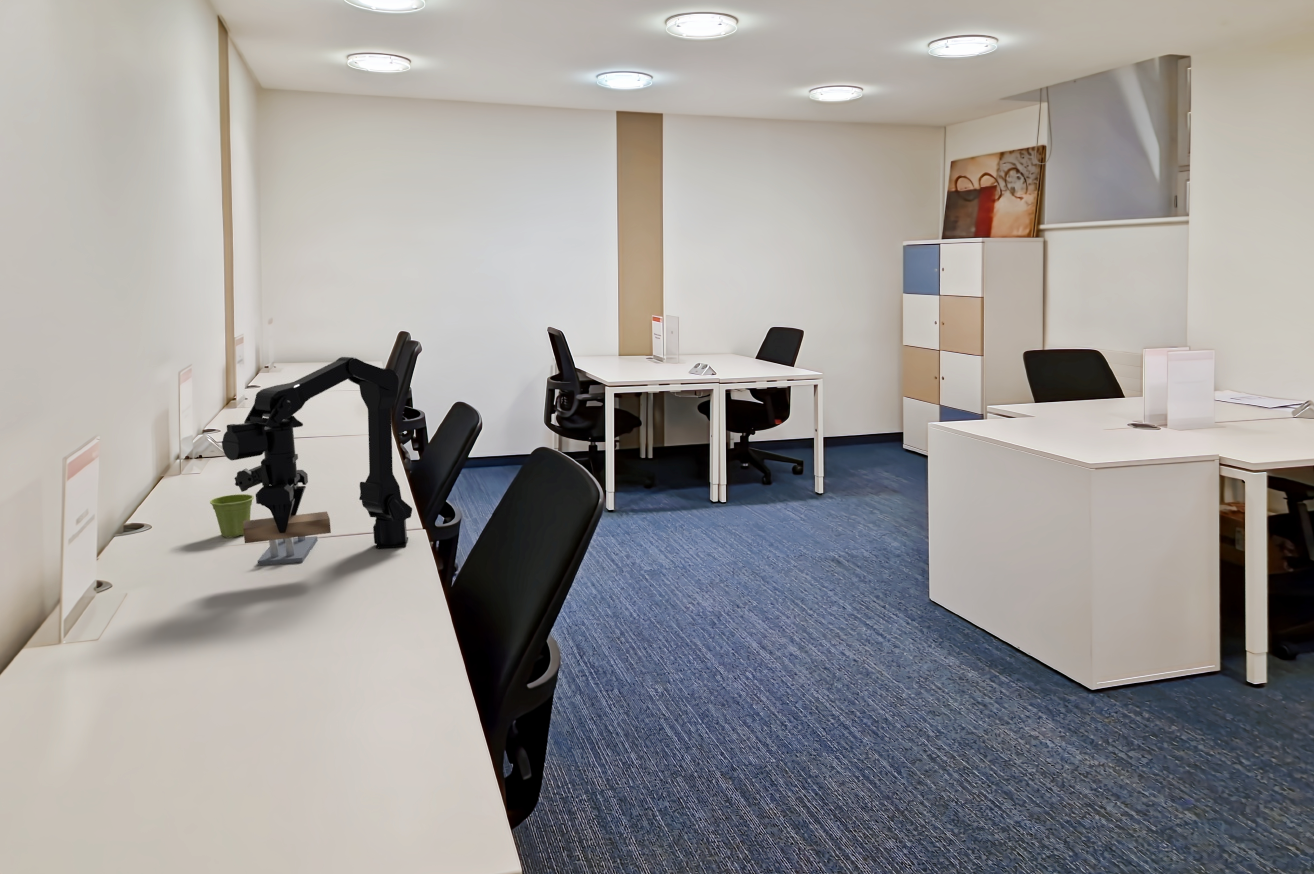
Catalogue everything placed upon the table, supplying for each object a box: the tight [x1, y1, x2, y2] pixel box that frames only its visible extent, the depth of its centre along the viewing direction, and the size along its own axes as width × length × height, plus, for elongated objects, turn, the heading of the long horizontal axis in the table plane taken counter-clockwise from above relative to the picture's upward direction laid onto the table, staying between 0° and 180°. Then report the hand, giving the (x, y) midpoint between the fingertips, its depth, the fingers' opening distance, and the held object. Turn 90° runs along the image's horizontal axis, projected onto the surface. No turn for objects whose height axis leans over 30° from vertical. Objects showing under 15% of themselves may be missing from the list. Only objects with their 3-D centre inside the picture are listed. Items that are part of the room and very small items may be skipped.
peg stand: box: [257, 535, 318, 566], centre depth 208 cm, size 17×9×5 cm, turn 9°
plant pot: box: [209, 493, 254, 538], centre depth 224 cm, size 9×9×9 cm
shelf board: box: [243, 511, 332, 544], centre depth 191 cm, size 16×6×3 cm, turn 113°
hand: (286, 527), depth 191 cm, fingers closed on shelf board, 7 cm apart
